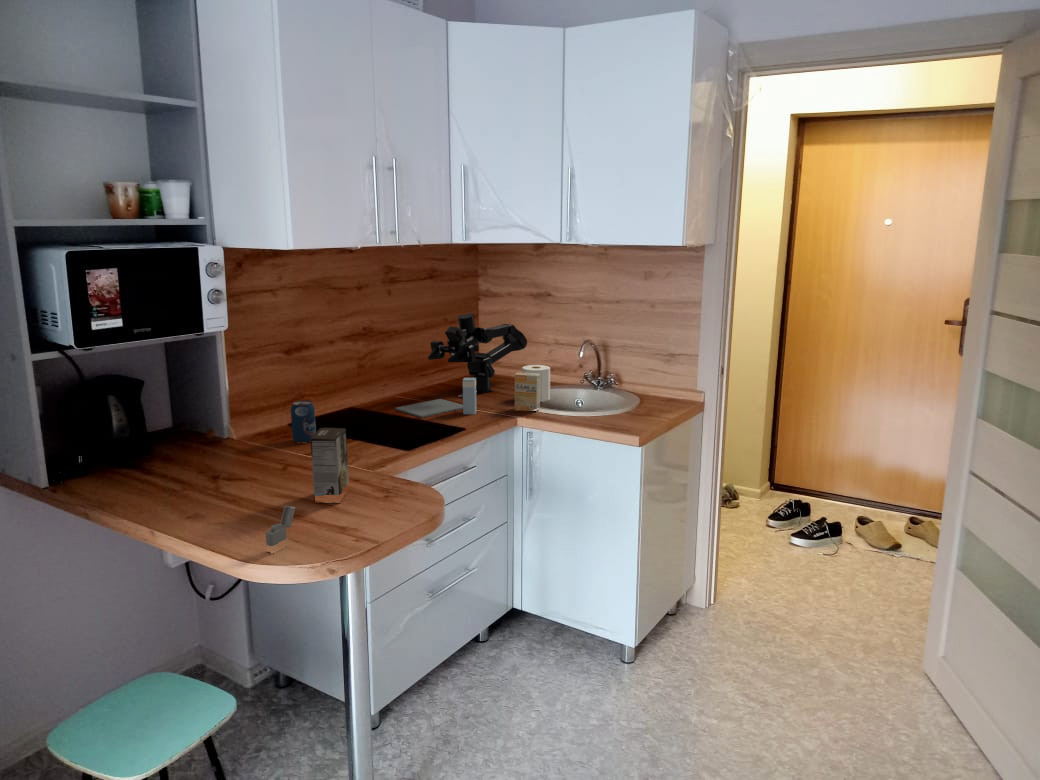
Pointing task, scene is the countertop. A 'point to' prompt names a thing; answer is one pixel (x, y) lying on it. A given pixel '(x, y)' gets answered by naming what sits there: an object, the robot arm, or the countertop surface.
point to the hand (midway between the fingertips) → (438, 359)
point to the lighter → (280, 527)
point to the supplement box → (527, 391)
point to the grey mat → (430, 408)
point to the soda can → (303, 420)
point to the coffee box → (329, 461)
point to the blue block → (469, 395)
